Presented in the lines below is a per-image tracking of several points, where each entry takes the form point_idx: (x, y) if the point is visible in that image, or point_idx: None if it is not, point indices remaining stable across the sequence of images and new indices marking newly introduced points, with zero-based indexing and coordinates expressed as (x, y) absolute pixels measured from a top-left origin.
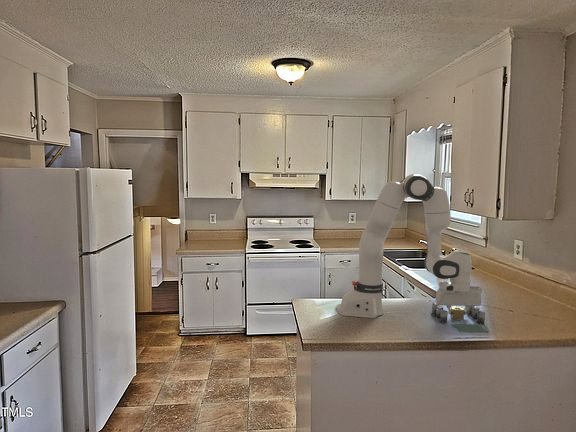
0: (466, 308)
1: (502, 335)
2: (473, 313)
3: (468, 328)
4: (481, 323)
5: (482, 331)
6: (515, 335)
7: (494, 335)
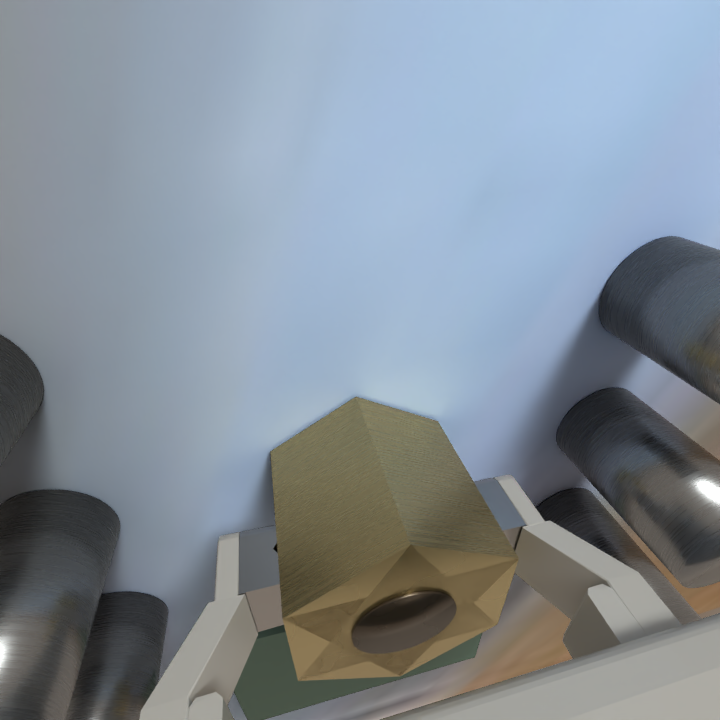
0: (567, 590)
1: (536, 648)
2: (611, 502)
3: None
4: None
5: (434, 668)
6: None
7: (484, 664)
